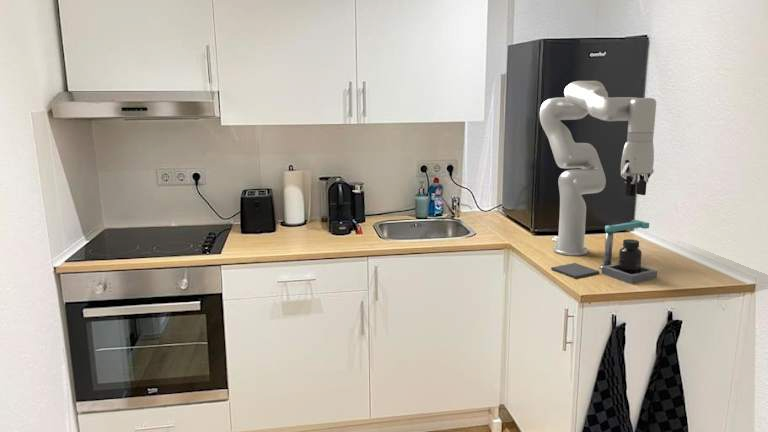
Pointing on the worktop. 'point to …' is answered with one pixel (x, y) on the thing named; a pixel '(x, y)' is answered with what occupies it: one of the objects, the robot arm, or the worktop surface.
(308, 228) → the worktop surface
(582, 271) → the rubber mat
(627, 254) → the supplement bottle
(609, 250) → the latch post
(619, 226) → the latch bar
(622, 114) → the robot arm
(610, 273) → the bottle holder
